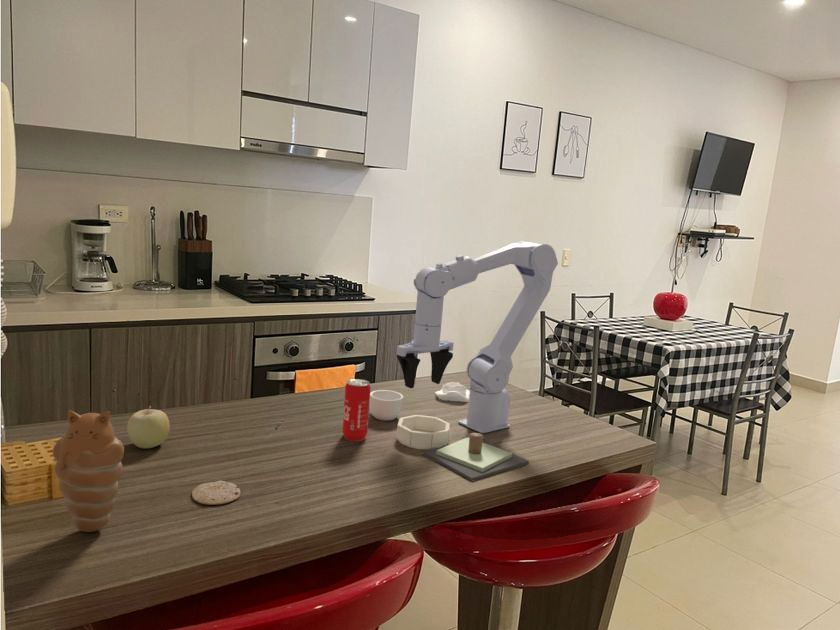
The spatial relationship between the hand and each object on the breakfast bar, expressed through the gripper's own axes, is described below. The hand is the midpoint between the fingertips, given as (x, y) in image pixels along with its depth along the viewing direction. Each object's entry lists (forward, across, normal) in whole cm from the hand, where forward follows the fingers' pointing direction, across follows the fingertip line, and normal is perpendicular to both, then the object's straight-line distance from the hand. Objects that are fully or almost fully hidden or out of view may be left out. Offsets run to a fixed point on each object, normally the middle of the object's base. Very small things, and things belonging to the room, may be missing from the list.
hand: (422, 384), depth 138 cm
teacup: (+11, +2, -11) cm, 16 cm away
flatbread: (+11, +49, +7) cm, 51 cm away
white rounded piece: (+11, -24, -14) cm, 30 cm away
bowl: (+10, +3, +5) cm, 12 cm away
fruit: (+11, +52, -18) cm, 56 cm away
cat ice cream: (+11, +68, +8) cm, 69 cm away
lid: (+10, 0, +18) cm, 20 cm away
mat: (+10, 0, +18) cm, 21 cm away
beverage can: (+11, +15, -3) cm, 19 cm away
